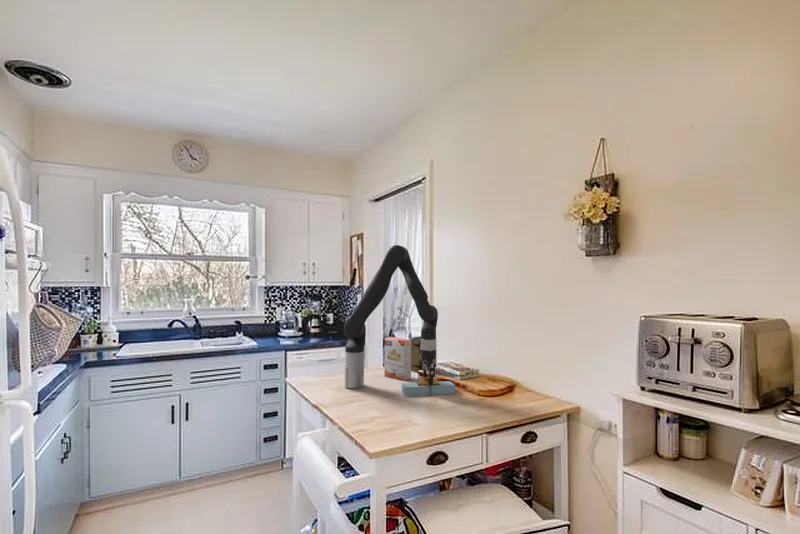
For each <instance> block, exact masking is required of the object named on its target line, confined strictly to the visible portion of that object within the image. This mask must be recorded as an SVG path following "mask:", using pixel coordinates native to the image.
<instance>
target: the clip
mask: <svg viewBox="0 0 800 534" xmlns="http://www.w3.org/2000/svg"><path fill="white" fill-rule="evenodd" d="M418 378H419V379H418V383H419V386H425V385H428V377H423V376H420V377H418ZM437 382H438V377H437V376H436V375H435V377H433V385H437ZM433 385H431V386H433Z"/></svg>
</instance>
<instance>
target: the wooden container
mask: <svg viewBox="0 0 800 534" xmlns="http://www.w3.org/2000/svg"><path fill="white" fill-rule="evenodd" d="M410 340H411V371H412V372H413V373H417V372H418V371H419V370H422V359H421V357H420V349H421V335H420V336H413V337H411V339H410ZM432 361H433V364H435V367H436V368H437V358H436V359H433V360H432Z"/></svg>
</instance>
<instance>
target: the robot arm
mask: <svg viewBox="0 0 800 534" xmlns="http://www.w3.org/2000/svg"><path fill="white" fill-rule="evenodd" d="M398 268H399V270H400V271H401V273H402V275H403V277H404V280H405V284H406V287H407V290H408V292H409V294H410V297H411V299H412V300H413V301H414V304H415V307H416V310H417V313H418V315H419V318H420V319H421V320H423V325H422V327H421V330H420V336H421V349H420V357H421V359H422V370H423V372H424V373H422V375H423V376H422V377H428V385H429V386H431V385H433V377H435V376H436V371H435V364H433V361H432V360H433V359H436V360H437V326H438V319H439V313H438V310H437V307H435V306H434V305H432V304H430V302H429V300H428V299H429V296H428V294H427V291H426V289H425V287H424V285H423V284H422V282H421V280H420V278H419V276H418V274H417V272H416V269H415V268H414V266H413V262H412V260H411V255H410V254H409V250H408V249H407V248H406V247H404V246H402V245H399V244H394V245H392V246H391V247H390V248H388V250H387V252H386V254H385V256H384V258H383V261H382V263H381V265H380V266H379V268H378V270H377V272H376V273H375V274H374V276H373V278H372V279H371V281H370V283H369V285H368V286H367V287H366V289H365V291H364V293H363V295H362V296H361V299H360V300H359V302H358V304H357V306H356V308H355V309H354V311H353V312H352V314H350V316H349V318H348V319H347V320H346V322H345V323H344V324H343V334H344V336H345V337H347V342H346V344H345V350H344V351H345V353H344V354H345V355H344V359H345V360H344V361H345V362H344V363H345V364H344V387H345V388H346V389H361V388H363V387H364V386H365V346H366V334H367V332H366V331H367V330H366V329H367V327H366V322H367V320H368V318H369V317H370V316H371V314H372V313H373V312H374V310H376V309H377V308H378V306H379V305H380V304H381V302H382V301H383V300H384V297H385V296H386V294H387V292H388V290H389V287H390V283H391V280H392V278H393V275H394V274H395V272H396V271H397V269H398Z"/></svg>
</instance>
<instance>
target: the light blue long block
mask: <svg viewBox="0 0 800 534" xmlns="http://www.w3.org/2000/svg"><path fill="white" fill-rule="evenodd" d="M401 393H402V395H403V396H404V397H417V396H435V395H436V396H437V395H454V394H456V384H454V383H453V382H452V381H451V380H448V381H447V380H445V381H441V380H440V381H437V385H433V386H429V385H425V386H419V382H406V383H405V382H404V383H401Z"/></svg>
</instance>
